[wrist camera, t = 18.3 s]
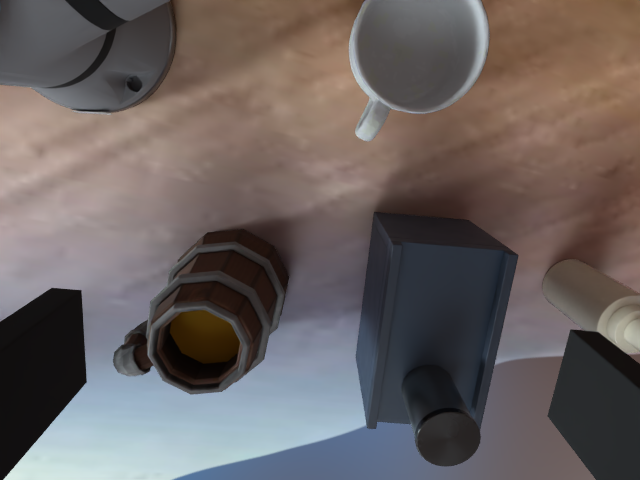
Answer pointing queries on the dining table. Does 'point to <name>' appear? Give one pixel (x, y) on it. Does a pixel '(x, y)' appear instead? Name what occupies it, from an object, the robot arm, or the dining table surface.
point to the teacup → (416, 55)
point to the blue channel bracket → (430, 309)
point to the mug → (210, 315)
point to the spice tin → (439, 417)
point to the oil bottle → (595, 302)
